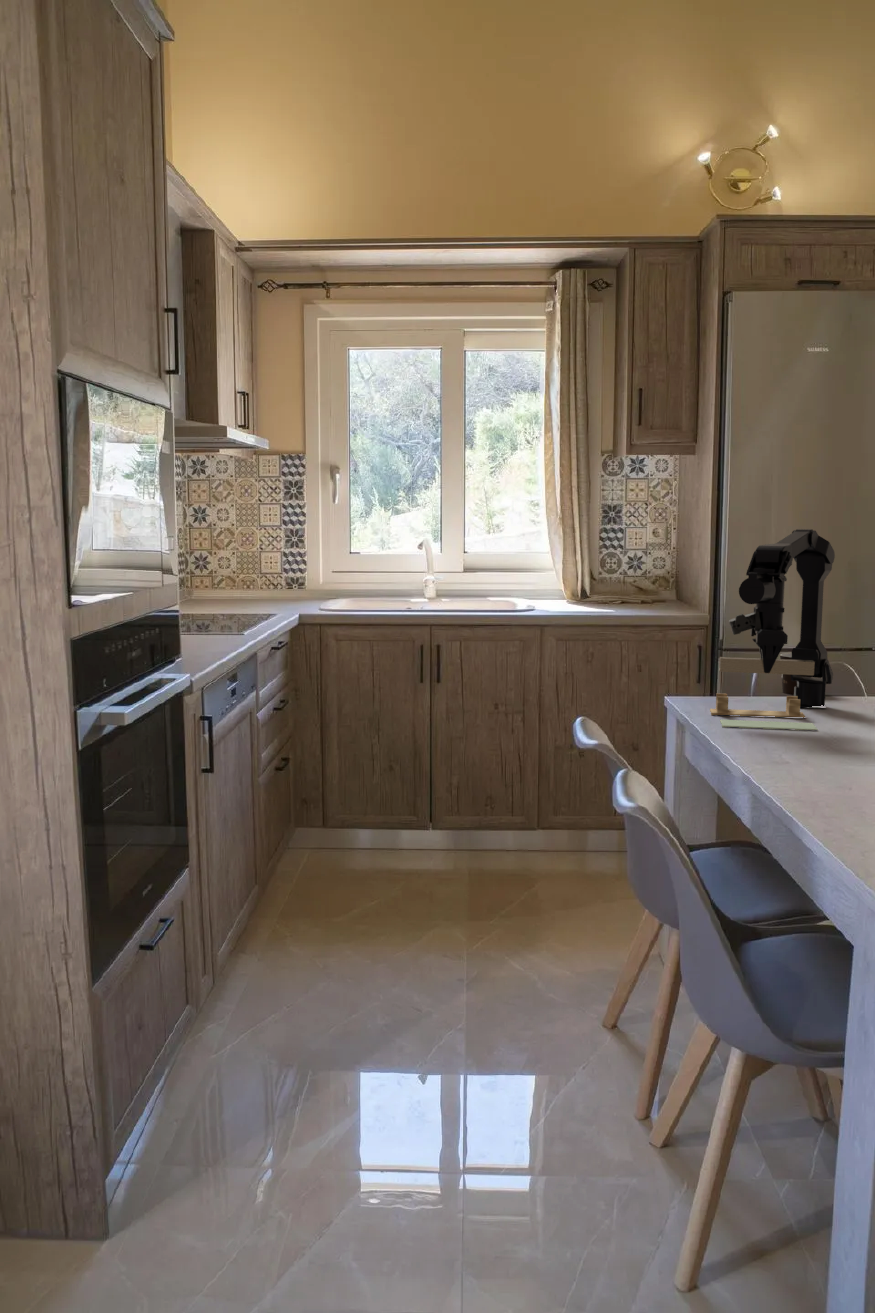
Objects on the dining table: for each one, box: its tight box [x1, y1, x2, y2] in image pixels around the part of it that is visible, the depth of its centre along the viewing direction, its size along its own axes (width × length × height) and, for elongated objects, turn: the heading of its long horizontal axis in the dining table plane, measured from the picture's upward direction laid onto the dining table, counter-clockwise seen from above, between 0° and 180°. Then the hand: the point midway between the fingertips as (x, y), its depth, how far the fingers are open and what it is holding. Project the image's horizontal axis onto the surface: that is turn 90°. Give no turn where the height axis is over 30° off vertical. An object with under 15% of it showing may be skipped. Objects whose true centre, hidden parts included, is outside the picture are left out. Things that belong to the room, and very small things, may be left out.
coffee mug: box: [779, 652, 807, 696], centre depth 268 cm, size 12×9×10 cm
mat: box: [719, 719, 819, 731], centre depth 223 cm, size 20×7×1 cm, turn 78°
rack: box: [709, 692, 807, 718], centre depth 236 cm, size 21×6×4 cm, turn 78°
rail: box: [718, 656, 815, 675], centre depth 224 cm, size 20×3×3 cm, turn 77°
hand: (766, 672), depth 225 cm, fingers closed on rail, 3 cm apart
